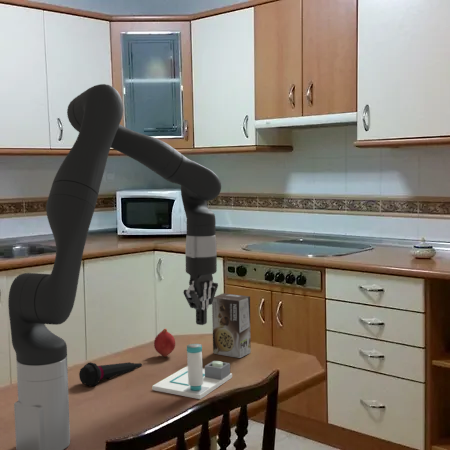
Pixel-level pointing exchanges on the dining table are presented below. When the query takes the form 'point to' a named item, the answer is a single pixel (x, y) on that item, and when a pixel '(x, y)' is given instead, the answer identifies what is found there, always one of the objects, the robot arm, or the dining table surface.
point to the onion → (164, 343)
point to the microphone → (104, 371)
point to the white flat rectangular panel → (180, 386)
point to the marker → (195, 366)
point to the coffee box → (231, 325)
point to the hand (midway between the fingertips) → (201, 324)
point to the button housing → (217, 371)
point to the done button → (217, 364)
